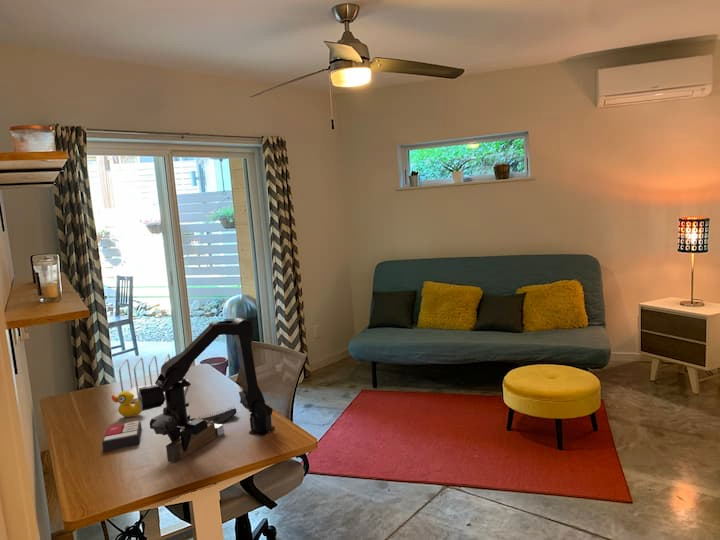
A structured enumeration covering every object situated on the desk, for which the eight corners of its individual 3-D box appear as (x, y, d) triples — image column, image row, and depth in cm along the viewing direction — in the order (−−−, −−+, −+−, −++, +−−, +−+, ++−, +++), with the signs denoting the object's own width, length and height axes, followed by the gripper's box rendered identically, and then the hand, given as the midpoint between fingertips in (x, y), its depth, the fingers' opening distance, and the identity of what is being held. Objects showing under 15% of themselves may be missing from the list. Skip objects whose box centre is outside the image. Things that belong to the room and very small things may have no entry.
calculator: (140, 419, 190) (137, 433, 176) (142, 430, 190) (139, 445, 176) (107, 425, 186) (101, 440, 172) (108, 437, 186) (103, 452, 172)
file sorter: (189, 383, 238) (185, 349, 236) (184, 396, 221) (180, 360, 219) (130, 391, 233) (125, 357, 231) (121, 405, 216) (116, 368, 214)
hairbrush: (165, 418, 191) (235, 403, 198) (166, 428, 191) (236, 412, 199) (163, 427, 183) (236, 411, 190) (165, 437, 184) (238, 420, 191)
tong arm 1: (211, 436, 178) (209, 420, 177) (171, 461, 161) (169, 444, 161) (208, 435, 179) (206, 420, 178) (167, 461, 162) (165, 444, 161)
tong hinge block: (224, 433, 180) (223, 424, 180) (218, 437, 177) (217, 428, 177) (213, 432, 182) (212, 423, 182) (207, 435, 179) (207, 426, 179)
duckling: (111, 420, 199) (107, 395, 198) (117, 414, 205) (114, 390, 204) (141, 418, 200) (138, 392, 198) (146, 412, 205) (143, 387, 204)
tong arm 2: (216, 436, 177) (214, 421, 176) (175, 462, 161) (173, 445, 160) (212, 436, 178) (211, 420, 177) (171, 461, 161) (169, 444, 160)
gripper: (133, 408, 160) (138, 457, 162) (180, 415, 152) (185, 466, 154) (160, 396, 170) (166, 442, 172) (206, 401, 162) (211, 449, 164)
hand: (181, 450), depth 165 cm, fingers open, 3 cm apart
